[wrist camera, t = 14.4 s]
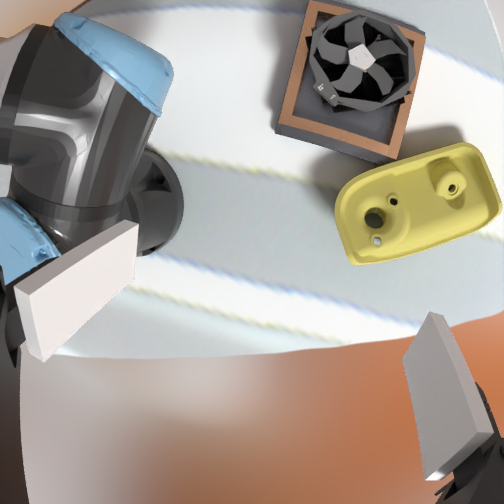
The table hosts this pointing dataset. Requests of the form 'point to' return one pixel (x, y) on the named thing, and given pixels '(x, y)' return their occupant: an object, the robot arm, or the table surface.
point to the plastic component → (416, 204)
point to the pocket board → (322, 118)
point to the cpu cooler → (360, 62)
